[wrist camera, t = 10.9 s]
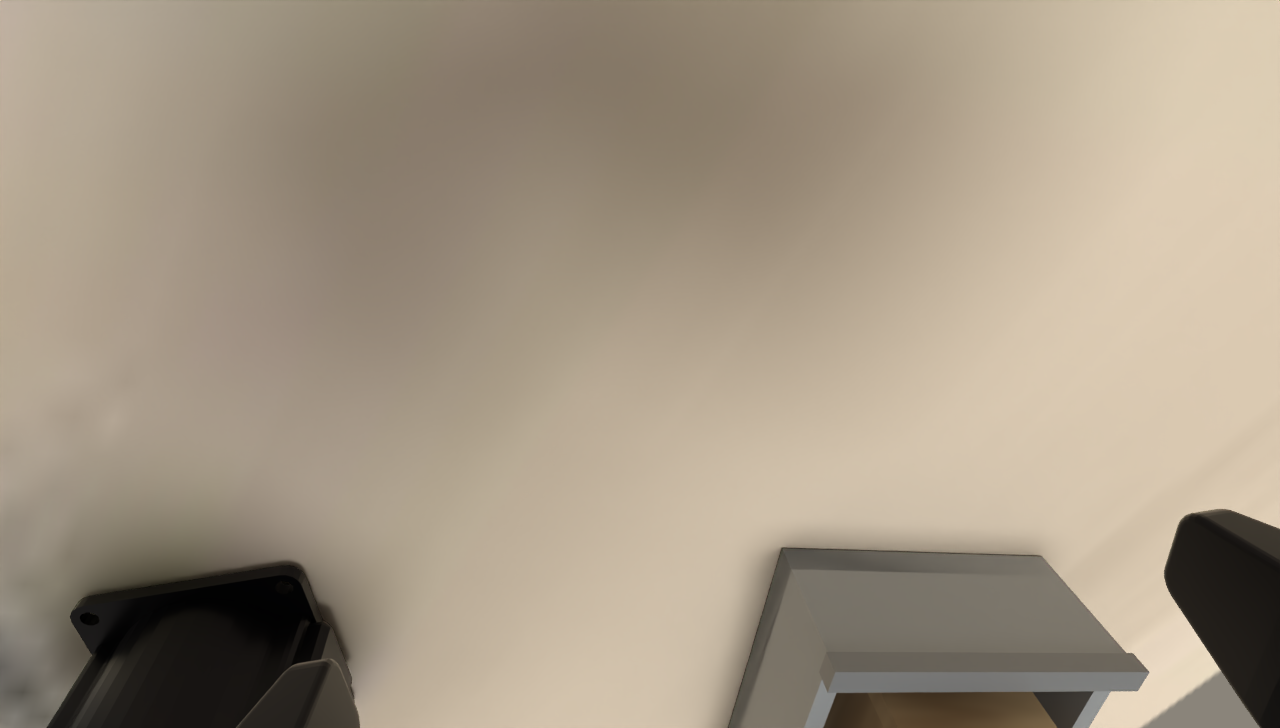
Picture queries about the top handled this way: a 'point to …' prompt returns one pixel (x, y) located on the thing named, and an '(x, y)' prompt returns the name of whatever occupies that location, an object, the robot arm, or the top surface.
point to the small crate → (938, 710)
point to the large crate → (925, 636)
